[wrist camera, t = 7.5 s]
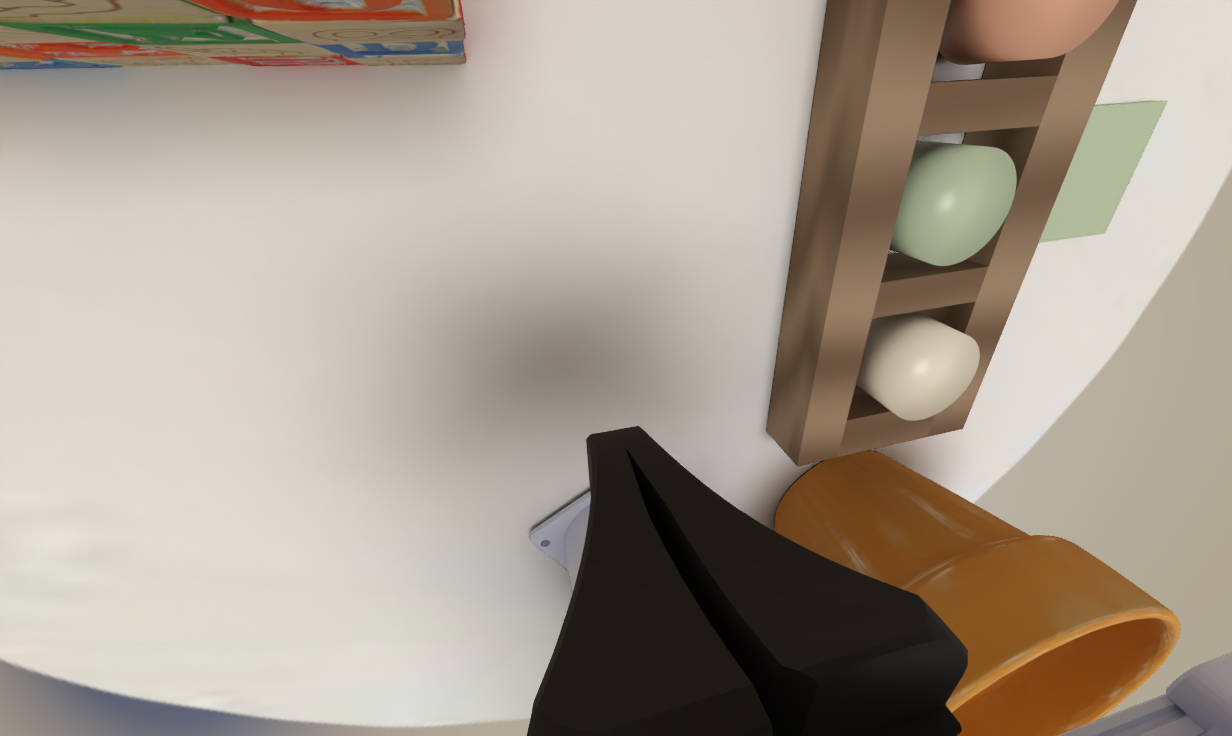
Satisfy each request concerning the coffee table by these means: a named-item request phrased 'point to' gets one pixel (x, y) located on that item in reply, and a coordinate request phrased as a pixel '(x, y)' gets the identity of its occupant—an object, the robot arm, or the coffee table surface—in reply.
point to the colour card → (1101, 168)
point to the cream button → (916, 364)
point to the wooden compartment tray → (870, 200)
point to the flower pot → (988, 594)
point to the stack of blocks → (229, 33)
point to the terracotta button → (1018, 28)
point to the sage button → (953, 201)
